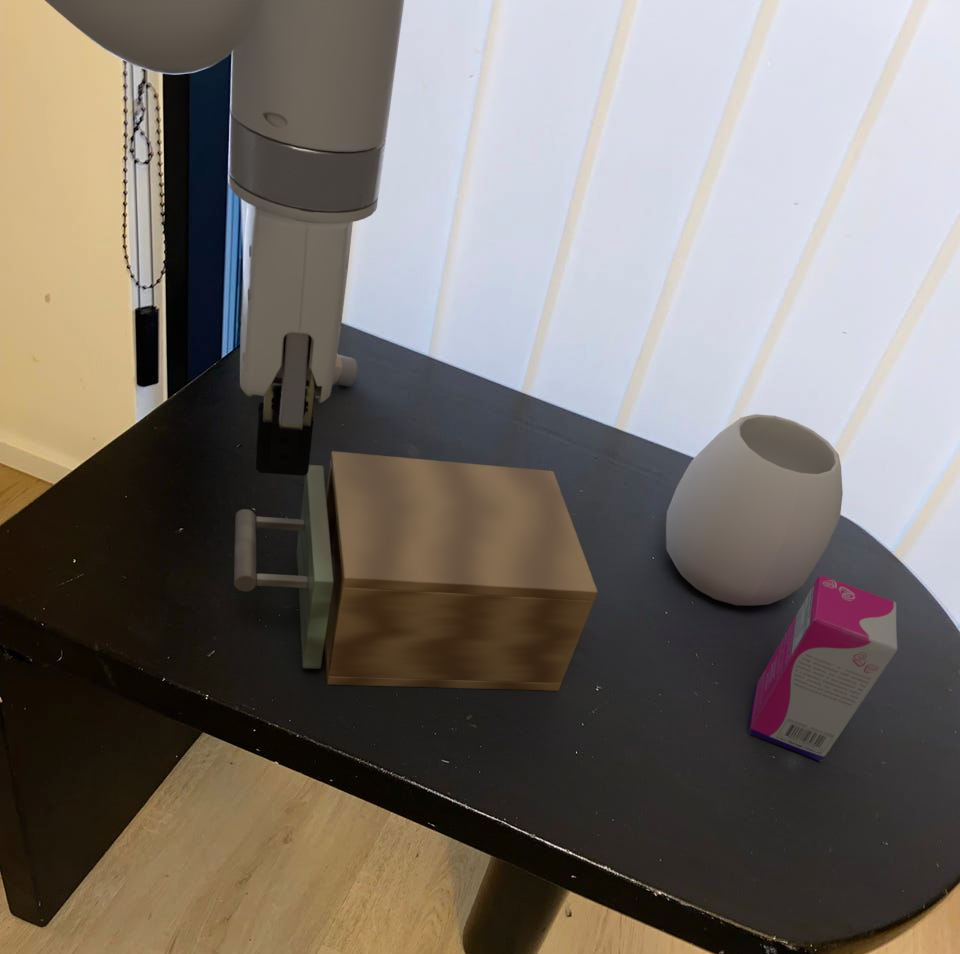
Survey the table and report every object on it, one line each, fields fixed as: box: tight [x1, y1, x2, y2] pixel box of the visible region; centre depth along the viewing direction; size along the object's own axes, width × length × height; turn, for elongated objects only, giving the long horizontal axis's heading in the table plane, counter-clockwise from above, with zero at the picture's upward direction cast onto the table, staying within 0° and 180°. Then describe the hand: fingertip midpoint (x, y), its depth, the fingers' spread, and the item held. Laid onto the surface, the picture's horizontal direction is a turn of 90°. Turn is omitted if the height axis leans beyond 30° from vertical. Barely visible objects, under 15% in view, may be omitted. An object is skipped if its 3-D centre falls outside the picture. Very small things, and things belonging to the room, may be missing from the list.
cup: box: [665, 413, 844, 606], centre depth 81 cm, size 13×13×14 cm
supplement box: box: [747, 574, 898, 763], centre depth 69 cm, size 6×6×12 cm
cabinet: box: [324, 450, 598, 692], centre depth 70 cm, size 17×14×10 cm
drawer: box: [233, 464, 342, 669], centre depth 68 cm, size 20×12×8 cm, turn 99°
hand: (281, 466), depth 61 cm, fingers closed
